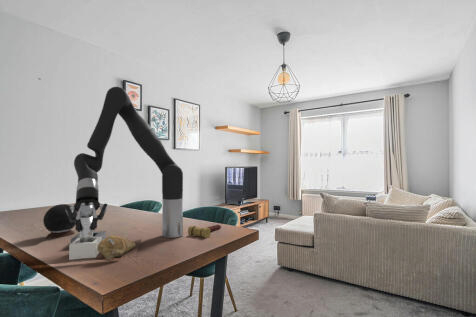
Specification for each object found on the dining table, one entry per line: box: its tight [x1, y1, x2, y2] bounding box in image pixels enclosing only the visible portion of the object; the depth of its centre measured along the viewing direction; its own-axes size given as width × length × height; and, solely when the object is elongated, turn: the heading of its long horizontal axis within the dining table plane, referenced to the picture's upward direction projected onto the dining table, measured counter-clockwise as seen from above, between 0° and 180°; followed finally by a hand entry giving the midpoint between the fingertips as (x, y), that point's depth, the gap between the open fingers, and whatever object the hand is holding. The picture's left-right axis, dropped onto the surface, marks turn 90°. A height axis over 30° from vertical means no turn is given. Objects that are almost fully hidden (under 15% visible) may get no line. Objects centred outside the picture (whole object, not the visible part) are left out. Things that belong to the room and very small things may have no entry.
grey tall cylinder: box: [79, 205, 94, 243], centre depth 90 cm, size 4×4×14 cm
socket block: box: [70, 230, 107, 244], centre depth 103 cm, size 10×10×4 cm
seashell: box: [98, 234, 137, 261], centre depth 91 cm, size 14×8×8 cm, turn 163°
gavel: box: [187, 224, 222, 239], centre depth 124 cm, size 21×5×10 cm
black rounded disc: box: [42, 203, 78, 240], centre depth 117 cm, size 13×13×15 cm
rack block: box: [68, 237, 102, 263], centre depth 90 cm, size 8×8×6 cm
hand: (86, 229), depth 88 cm, fingers closed on grey tall cylinder, 4 cm apart
